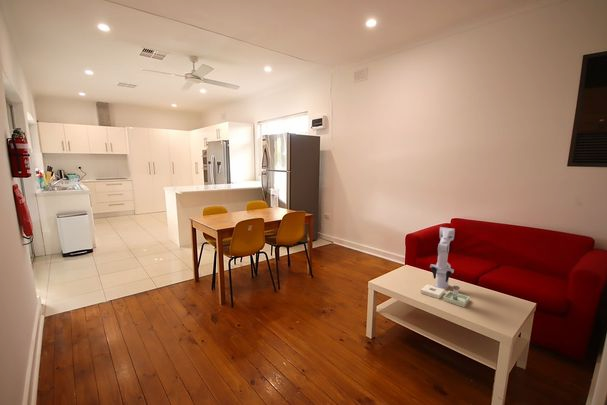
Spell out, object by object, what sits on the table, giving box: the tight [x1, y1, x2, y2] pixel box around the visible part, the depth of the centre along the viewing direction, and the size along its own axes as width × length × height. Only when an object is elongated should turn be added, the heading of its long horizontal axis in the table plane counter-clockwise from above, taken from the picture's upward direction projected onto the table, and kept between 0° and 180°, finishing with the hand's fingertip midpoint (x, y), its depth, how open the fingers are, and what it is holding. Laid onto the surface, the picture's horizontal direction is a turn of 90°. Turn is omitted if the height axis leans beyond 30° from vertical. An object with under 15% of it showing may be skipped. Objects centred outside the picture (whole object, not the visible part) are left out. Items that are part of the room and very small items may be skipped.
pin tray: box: [442, 290, 471, 308], centre depth 181 cm, size 13×13×2 cm
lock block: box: [420, 284, 446, 300], centre depth 191 cm, size 12×12×2 cm
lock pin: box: [452, 285, 460, 300], centre depth 181 cm, size 4×4×9 cm
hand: (440, 279), depth 188 cm, fingers open, 7 cm apart
